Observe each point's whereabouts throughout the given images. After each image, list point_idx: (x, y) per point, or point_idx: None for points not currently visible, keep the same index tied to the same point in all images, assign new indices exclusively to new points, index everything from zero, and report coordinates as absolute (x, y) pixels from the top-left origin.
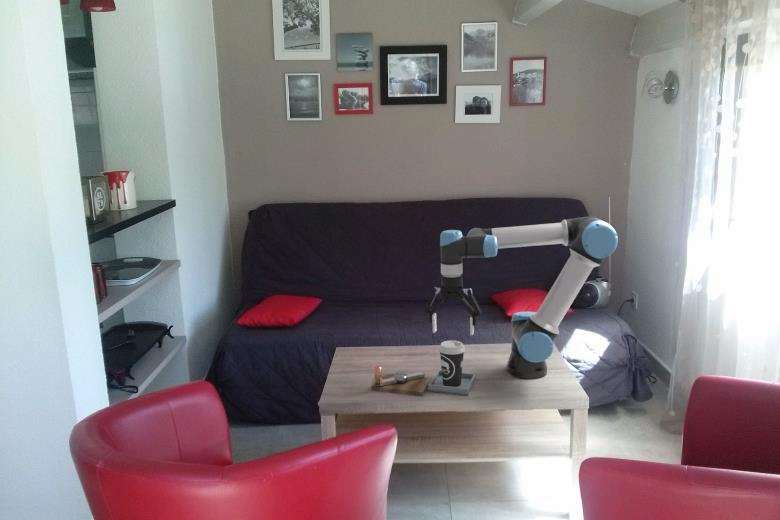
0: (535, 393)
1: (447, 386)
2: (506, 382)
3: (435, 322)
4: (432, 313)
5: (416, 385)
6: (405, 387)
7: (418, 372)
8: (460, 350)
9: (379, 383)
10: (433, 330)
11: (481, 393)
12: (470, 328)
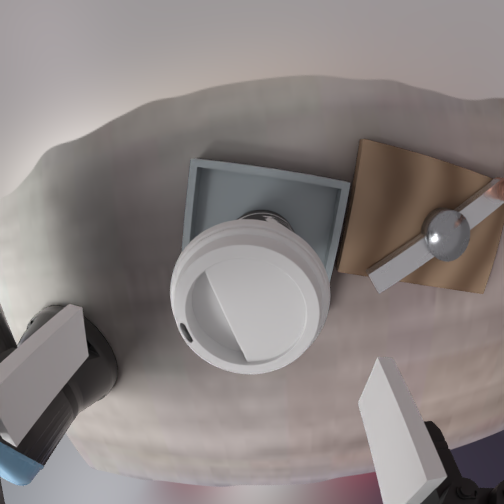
0: (31, 214)
1: (271, 173)
2: (99, 282)
3: (386, 437)
4: (447, 495)
5: (390, 198)
6: (424, 178)
7: (390, 286)
8: (185, 254)
9: (500, 179)
10: (392, 368)
11: (155, 187)
12: (50, 333)
